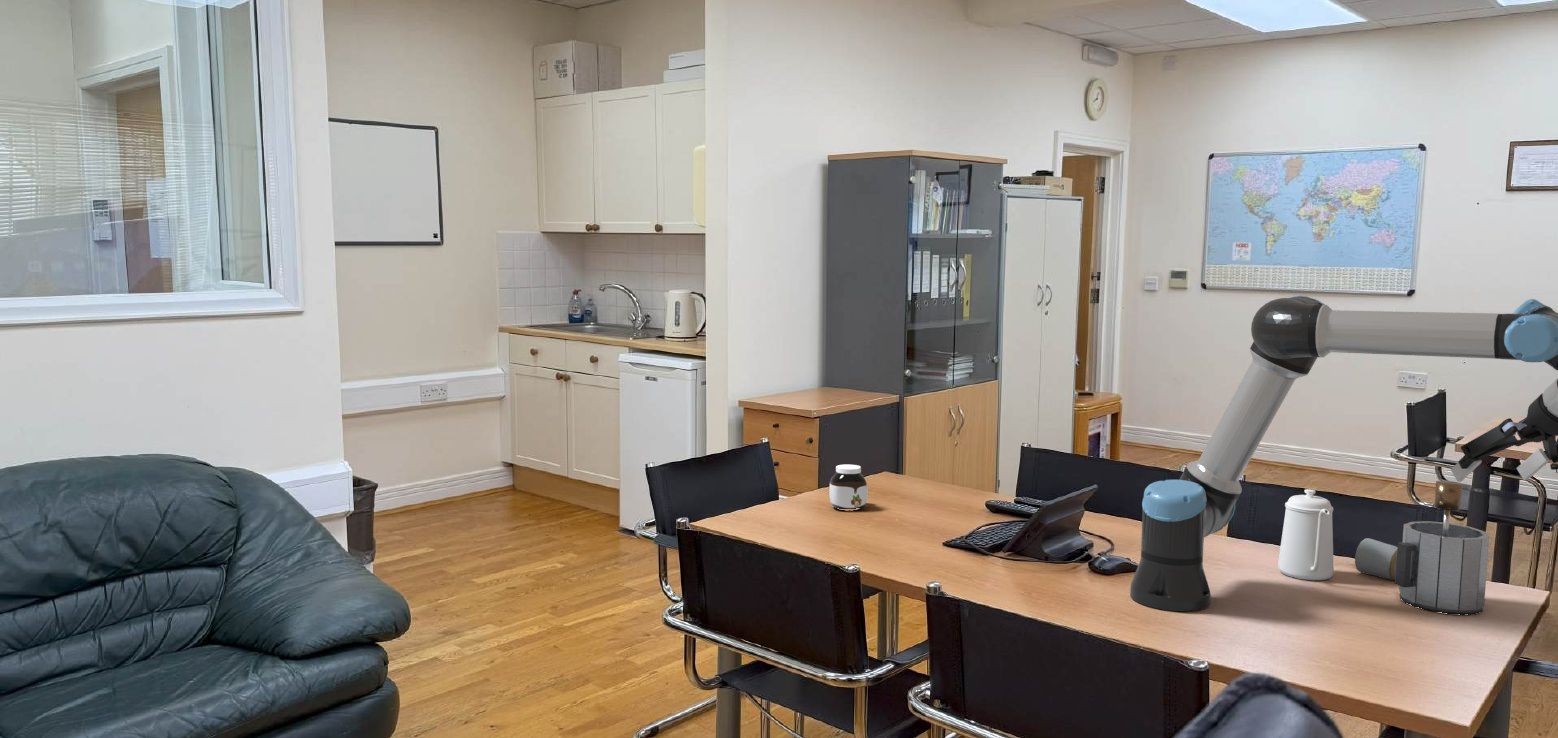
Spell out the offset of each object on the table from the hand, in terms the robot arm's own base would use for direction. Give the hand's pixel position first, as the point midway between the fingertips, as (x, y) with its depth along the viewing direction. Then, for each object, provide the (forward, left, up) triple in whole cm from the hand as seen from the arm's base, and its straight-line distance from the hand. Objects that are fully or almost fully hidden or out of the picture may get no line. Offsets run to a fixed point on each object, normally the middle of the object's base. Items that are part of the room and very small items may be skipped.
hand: (1488, 475), depth 199 cm
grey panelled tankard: (-2, +9, -28) cm, 29 cm away
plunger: (-1, +9, -18) cm, 20 cm away
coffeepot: (-16, +30, -28) cm, 44 cm away
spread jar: (-103, +103, -28) cm, 148 cm away
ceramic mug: (+1, +28, -28) cm, 40 cm away
